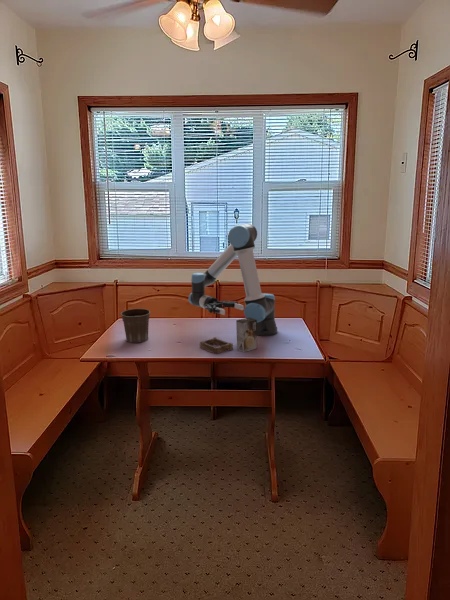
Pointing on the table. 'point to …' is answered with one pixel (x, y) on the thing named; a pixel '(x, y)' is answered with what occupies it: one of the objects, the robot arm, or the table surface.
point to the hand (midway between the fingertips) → (234, 310)
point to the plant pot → (136, 324)
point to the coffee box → (246, 334)
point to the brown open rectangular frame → (222, 344)
